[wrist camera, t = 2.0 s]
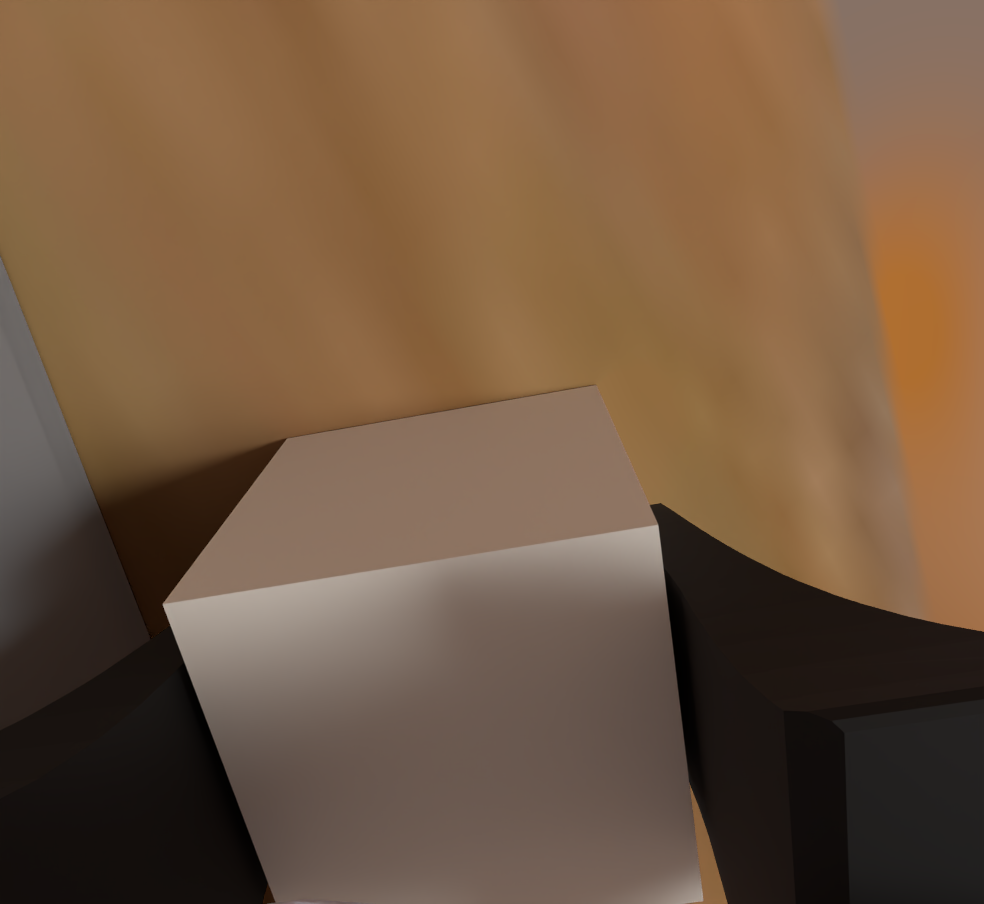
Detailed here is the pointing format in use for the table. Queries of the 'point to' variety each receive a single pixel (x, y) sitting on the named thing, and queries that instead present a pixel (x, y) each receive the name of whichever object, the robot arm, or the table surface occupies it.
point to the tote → (50, 543)
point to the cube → (448, 664)
